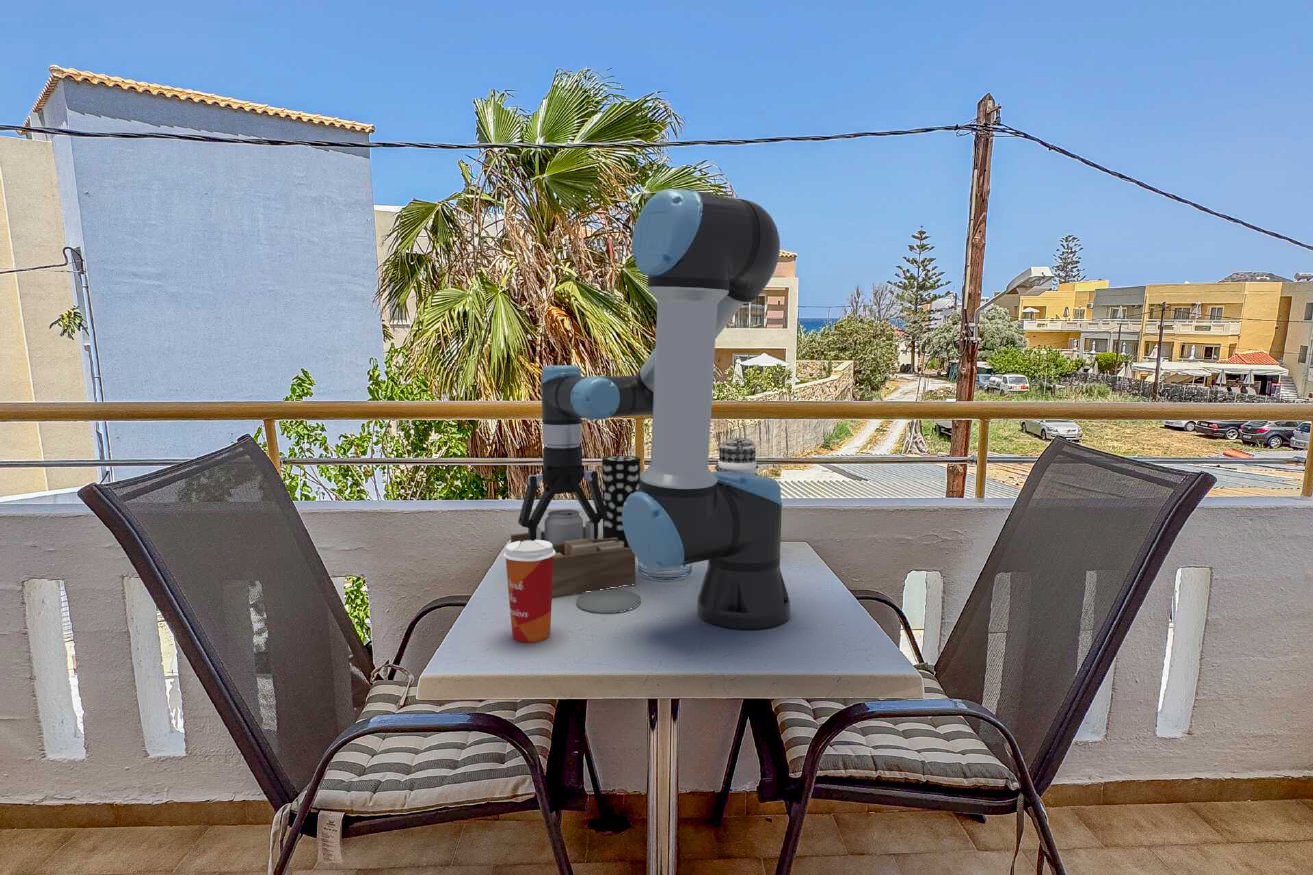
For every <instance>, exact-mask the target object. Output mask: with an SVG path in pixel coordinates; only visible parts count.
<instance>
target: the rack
mask: <svg viewBox="0 0 1313 875" xmlns="http://www.w3.org/2000/svg"><path fill="white" fill-rule="evenodd" d="M598 537H599V536H598ZM598 537H597V538H594V540H590V541H591V542H593V543H598V542H606V541H615V542H617V543H618V538H617V537H613V538H605V539H603V538H598ZM528 539H529V538H528V532H524V533H516V534H515V533H514V534H510V543H513V542H516V541H520V544H521V542H524V541H525V540H528ZM583 539H586V525H585V526H583ZM541 540H544V541H545V530H541ZM618 544H619V543H618ZM623 547H624V546H623ZM553 549H554V550H555V552H556V553H561V554H562V555H563V556H557V557H553V580H552V599H553V598H560V597H566V595H568V596H573V595H572V594H574V593H581V594H583V593H582V592H586V591H595V590H600V589H607V588H610V587H619V586H623V585H632V584H635V585H636V556H635V555H634V553H633V552H632V550H631V547H628V548H625V547H624V548H620V549H612V550H604V551H596V552H589V553H581V554H573V555H565V543H563V544H555V545H553ZM632 586H633V585H632ZM619 588H620V587H619ZM574 595H575V594H574Z"/></svg>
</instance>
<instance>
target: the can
mask: <svg viewBox="0 0 1313 875" xmlns="http://www.w3.org/2000/svg"><path fill="white" fill-rule="evenodd" d="M543 522H544V526H543V527H544V531H545V541H548V542H550V543H552V545H555V544H563V543H565V541H571V540H579V539H583V527H584V525H583V524H584V520H583V518H582V516H580V511H578V510H576V509H568V508H566V509H565V508H564V509H563V508H561V509H553V510H549V511H548V512H547V517H546V518H545V519H544V521H543Z"/></svg>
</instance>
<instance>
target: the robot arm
mask: <svg viewBox="0 0 1313 875" xmlns="http://www.w3.org/2000/svg"><path fill="white" fill-rule="evenodd" d="M780 245H781V241H780V235H779V231H778V228H777V225H776V223H775V221H774V219H773V217H772V216H771V215H770V214H769V213H768V212H767V210H765V209H764V208H763V207H762V206H761V205H759V204H757V203H755V202H753V201H751V200H748V199H742V198H734V197H733V198H732V197H727V196H722V195H718V194H713V193H709V192H708V193H707V192H703V191H698V190H697V191H696V190H694V189H671V188H667V189H664V190H661V191H659V192H656V193H655V194H654V195H652V197H650V198H649V200H647V202H646V203H645V205H644V207H643V208H642V209H641V211H640V212H639V215H638V217H637V219H636V222H635V225H634V228H633V232H632V238H631V252H632V253H631V254H632V258H633V259H634V260H635V262H634V264H635V267H637V269H638V271H640V272H641V273H642V274H643V275H645V276H647V287H646V288H647V291H649V293H650V294H651V295H652V297H654V298H655V300H656V302H657V307H656V308H657V309H656V332H655V333H656V334H655V347H654V349H653V350H652V352H651V353H650V355H649V356H648V358H647V359H646V360H645V362H644V364H643V365H642V366H641V367H640V368H639V370H638V371H637V373H636V374H634V375H620V376H619V375H615V376H613V375H612V376H610V375H609V376H608V375H607V376H605V375H604V376H599V375H598V376H593V375H591V376H582V372H581V371H582V370H581V368H580V367H579V366H578V365H573V364H572V365H571V364H570V365H569V364H568V365H559V364H558V365H546V366H543V368H542V370H541V383H540V389H541V412H542V413H541V414H542V416H541V417H542V443H543V445H545V446H544V447H543V448H542V467H543V468H542V471H541V473H539V474H527V476H526V481H527V482H526V483H527V484H526V485H527V487H526V492H525V495H524V498H523V502H522V506H521V510H520V514H519V517H518V521H517V522H518V524H519V525H520V526H521V527H522V528H527V529H528V531H527V533H528V538H529V539H528V540H531V541H534V540H541V531H542V529H541V528H539V524H540V522H541V520H542V518H543V516H544V515H545V514H546V511H547V509H548V507H549V505H550V503H551V501H552V500H553V499H554V498H555V496H556V495H562V494H564V493H565V494H573V495H574V497H575V498H576V500H577V502H578V503H579V505H580V507H581V508H582V509H583V511H584V513H585V514H586V517H588V519H589V520H585V526H586V539H588V540H594V538H597V537H599V524H600V522H601V520H603V518H604V519H605V518H607V512H606V509H605V506H604V502H603V495H602V493H601V490H600V486H599V480H598V479H599V473H598V471H596V470H593V469H589V470H584V469H583V448H582V446H581V444H582V443H583V430H582V427H583V426H582V423H583V421H582V419H586V420H589V421H593V420H597V421H599V420H600V421H601V420H606V419H608V418H619V417H632V416H633V417H635V416H636V417H637V416H652V420H651V421H652V424H651V442H650V443H651V446H650V464H649V465H648V467H647V468H645V469H644V470H643V471H642V472H640V482H639V491H638V492H635V493H633V494H631V495H630V496H628V497H627V499H626V501H625V502H624V505H623V510H622V523H623V529H624V533H625V536H626V539H627V542H628V544H629V546H630V547H631V550H632V552H633V553H634V555H635V558H636V559H637V560H639V561H640V563H641V564H643V565H644V566H646V567H647V568H650V569H653V570H663V569H669V568H671V569H678V568H680V567H682V566H686V565H691V564H695V563H700V562H706V561H708V564H707V569H706V572H705V573H704V574H705V575H704V578H703V581H702V583H701V587H700V590H699V593H698V595H697V601H696V602H697V604H696V605H697V607H696V608H697V610H696V611H697V614H698V616H699V617H700V618H702V619H703V620H704V621H705V622H708V623H710V624H714V625H715V626H719V627H724V628H730V629H735V630H737V629H738V630H759V629H760V630H761V629H767V628H769V629H770V628H773V627H776V626H780V625H782V624H784V623H786V622H787V621H788V620H789V619H790V617H791V600H790V598H789V594H788V591H787V587H786V584H785V581H784V577H783V575H782V570H781V536H782V507H783V503H782V492H781V485H780V483H779V482H778V481H777V480H776V479H774V478H773V477H769V476H765V475H759V474H758V475H753V474H745V473H736V472H722V471H717V470H715V471H711V470H710V468H709V456H710V455H709V454H710V438H711V423H712V421H711V420H712V404H713V385H714V368H715V354H716V353H715V352H716V339H717V338H718V337H719V335H720V334H721V332H722V331H723V330H724V329H725V328H726V326H727V325H728V324H729V323H730V321H731V320H732V319H733V318H734V316H735V315H736V314H737V313H738V311H739V310H740V309H741V308H742V307H743V305H744V304H750V303H754V301H756V299H757V298H758V297H759V296H760V295H761V293H762V292H763V291H764V289H765V288H766V287H767V285H768V284H769V282H770V280H771V279H772V277H773V276H774V273H775V271H776V268H777V266H778V261H779V257H780V252H781V251H780V249H781V248H780ZM584 478H585V479H584ZM583 479H584V480H585V481H586V482H587V483H588V484H587V485H588V489H589V491H590V494H591V497H592V501H593V505H594V507H595V509H594V508H593V506H592V505H591V503H590V502H589V500H588V498H587V496H586V495H585V493H584V491H583V489H582V487H581V486H580V484H581V483H582V481H583ZM541 481H542V482H543V483H544V484H545V488H544V489H543V492H542V495H541V497H540V499H539V501H538V503H537V504H536V505H535V506H536V507H535V508H534V510H533V507H534V506H533V505H534V502H535V498H536V496H537V491H538V487H539V486H540V483H541ZM532 510H533V512H532ZM531 513H532V514H531Z"/></svg>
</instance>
